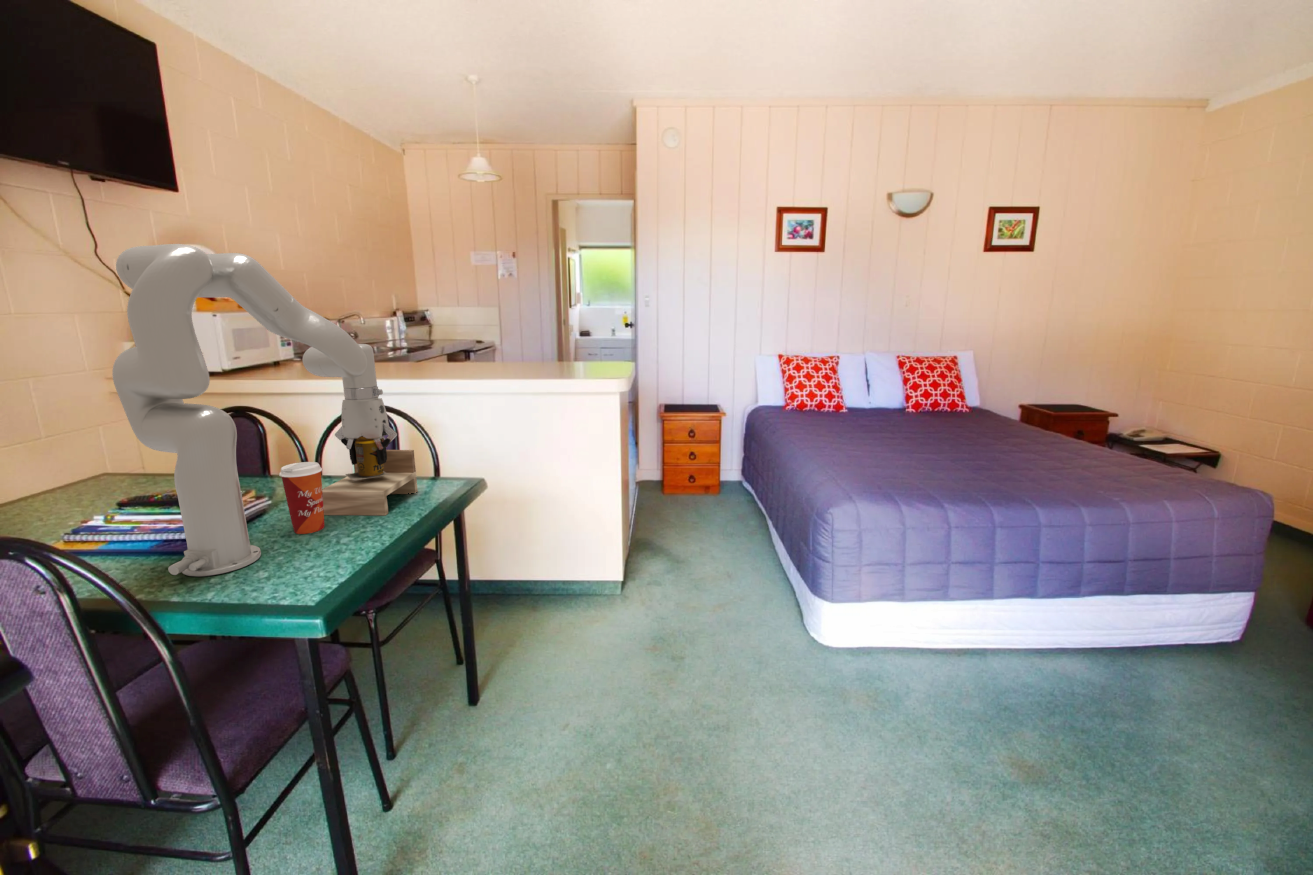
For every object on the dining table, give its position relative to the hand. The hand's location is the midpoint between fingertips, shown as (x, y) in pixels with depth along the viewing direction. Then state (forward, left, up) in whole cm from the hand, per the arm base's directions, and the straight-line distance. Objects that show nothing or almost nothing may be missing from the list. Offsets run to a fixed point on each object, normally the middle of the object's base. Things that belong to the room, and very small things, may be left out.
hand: (369, 462), depth 145 cm
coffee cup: (-19, +5, -11) cm, 22 cm away
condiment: (0, +1, -3) cm, 4 cm away
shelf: (-1, 0, -11) cm, 11 cm away
